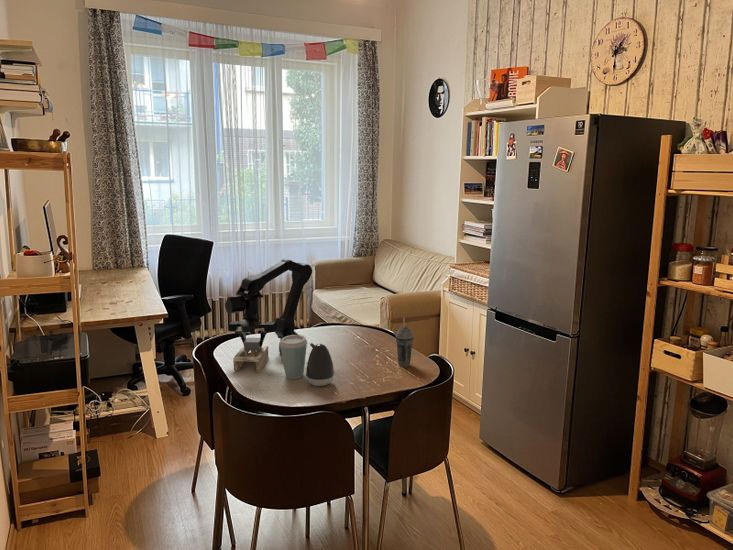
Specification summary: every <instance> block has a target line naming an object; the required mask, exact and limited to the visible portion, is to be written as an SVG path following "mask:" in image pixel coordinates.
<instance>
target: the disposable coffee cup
mask: <svg viewBox="0 0 733 550" xmlns="http://www.w3.org/2000/svg"><path fill="white" fill-rule="evenodd" d="M306 338H307V337H305V335H301V334H298V335H289V336H286V337H284V338H282V339H280V340H281V341H280V340H279V343H278V347H279V346H280V350H281V355H280V356H281V358H282V364H283V368H284V374H285V376H286V378H288V379H290V380H292V379H293V380H296V379H300V378H303V376H304V373H305V365H306V364H305V363H306V356H307V355H306V353H307V346H308V340H307V339H306Z"/></svg>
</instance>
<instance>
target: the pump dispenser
mask: <svg viewBox="0 0 733 550" xmlns="http://www.w3.org/2000/svg"><path fill="white" fill-rule="evenodd" d="M309 346H310V347H311V348H312V349H311V351H310V353H309V356H308V359H307V363H306V370H305V371H306V372H305V373H306V374H305V375H306V376H305V377H307V380H308V382H309V383H310V384H311V385H313V386H315V387H325V386H328V385H329V384H330V383H331V382H332V380H333V379H334V376H335V368H334V363H333V360H332V356H331V353H330V350H329V348H328V347H327V346H326V345H325V344H322V343H317V344H314V343H312V342H311V343H310V345H309Z"/></svg>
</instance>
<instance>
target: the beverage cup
mask: <svg viewBox="0 0 733 550" xmlns="http://www.w3.org/2000/svg"><path fill="white" fill-rule="evenodd" d="M402 320H403V322H402V323H403V326H402V327H401V328H399V329H398V330H397V331H396V334H395V342H396V350H397V362H398V366H399V367H402V368H408V367H410V364H411V359H412V350H413V343H414V333H413V330H412V329H410V328H409V327H406V325H405V323H406V322H405V317H403V319H402Z"/></svg>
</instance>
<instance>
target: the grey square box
mask: <svg viewBox="0 0 733 550" xmlns="http://www.w3.org/2000/svg"><path fill="white" fill-rule="evenodd" d="M243 346H244V351H249V353H248V354H247V357H257V355H258V354H256V351H259V350H260V349H261V347H260V337H246V340H245V341H244V344H243Z"/></svg>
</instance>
